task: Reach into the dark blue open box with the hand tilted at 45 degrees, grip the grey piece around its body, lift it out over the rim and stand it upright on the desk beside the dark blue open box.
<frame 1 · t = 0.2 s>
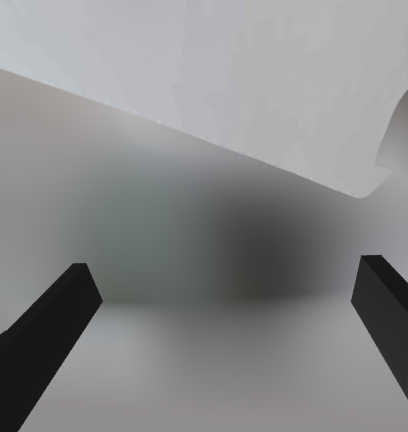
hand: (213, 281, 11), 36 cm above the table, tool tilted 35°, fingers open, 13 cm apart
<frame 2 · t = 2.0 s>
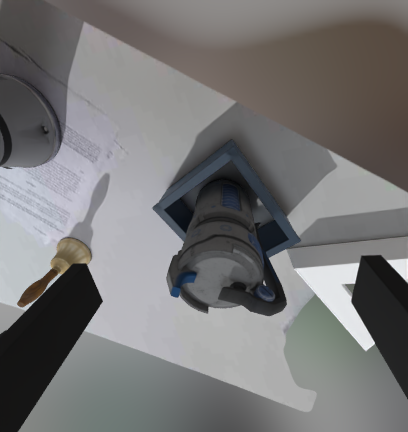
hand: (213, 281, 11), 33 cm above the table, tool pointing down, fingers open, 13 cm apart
hand bell: (75, 251, 55), on the table
dark blue open box: (227, 203, 45), on the table
triangle block: (341, 267, 49), on the table
grey piece: (227, 202, 45), resting in dark blue open box
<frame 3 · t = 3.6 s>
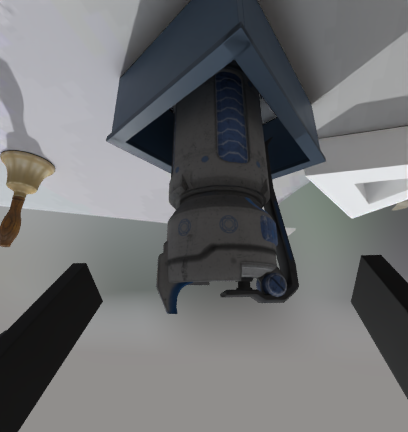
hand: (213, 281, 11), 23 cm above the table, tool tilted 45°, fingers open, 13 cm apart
hand bell: (29, 162, 43), on the table
dark blue open box: (222, 92, 28), on the table
triangle block: (360, 153, 41), on the table
grey piece: (222, 91, 28), resting in dark blue open box
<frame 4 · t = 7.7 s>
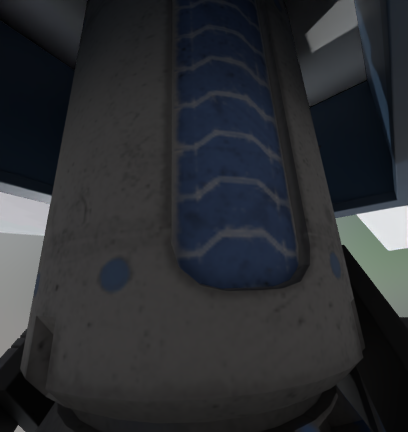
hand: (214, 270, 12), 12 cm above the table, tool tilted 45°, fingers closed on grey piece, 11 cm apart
dark blue open box: (204, 49, 13), on the table
grey piece: (204, 48, 13), resting in dark blue open box, touching gripper
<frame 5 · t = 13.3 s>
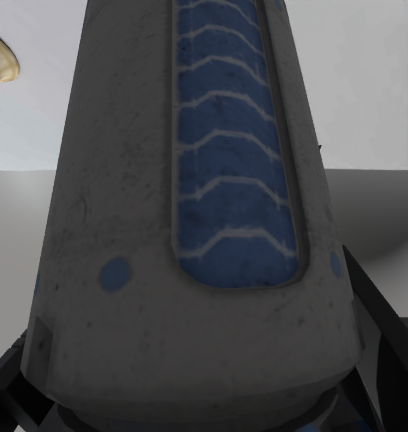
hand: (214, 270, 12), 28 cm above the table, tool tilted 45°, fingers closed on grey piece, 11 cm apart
grey piece: (204, 48, 13), point 16 cm above the table, touching gripper
when the fingers open (12 cm above the table, at t = 19.1 s): grey piece stays where it is, on the table.
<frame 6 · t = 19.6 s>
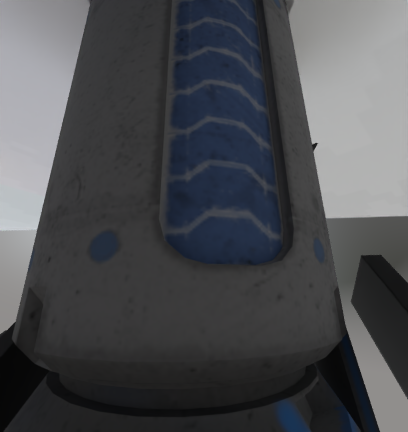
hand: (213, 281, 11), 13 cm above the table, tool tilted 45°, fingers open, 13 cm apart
grey piece: (206, 45, 13), on the table
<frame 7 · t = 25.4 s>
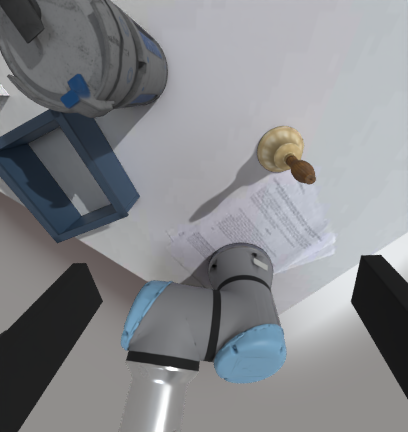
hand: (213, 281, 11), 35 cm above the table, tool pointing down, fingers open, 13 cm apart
hand bell: (279, 149, 42), on the table
dark blue open box: (83, 170, 46), on the table
grey piece: (135, 65, 37), on the table
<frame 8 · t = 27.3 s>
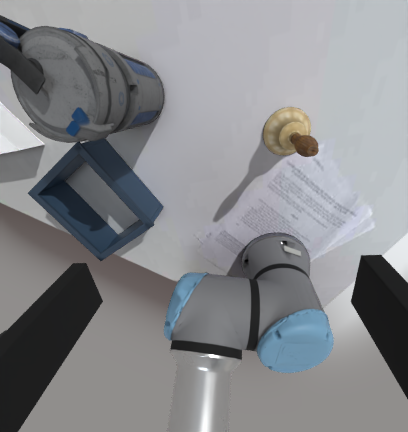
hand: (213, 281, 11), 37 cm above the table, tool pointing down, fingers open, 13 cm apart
hand bell: (286, 132, 41), on the table
dark blue open box: (111, 193, 51), on the table
grey piece: (136, 90, 41), on the table
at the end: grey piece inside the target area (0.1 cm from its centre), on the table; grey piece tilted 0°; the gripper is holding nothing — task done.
